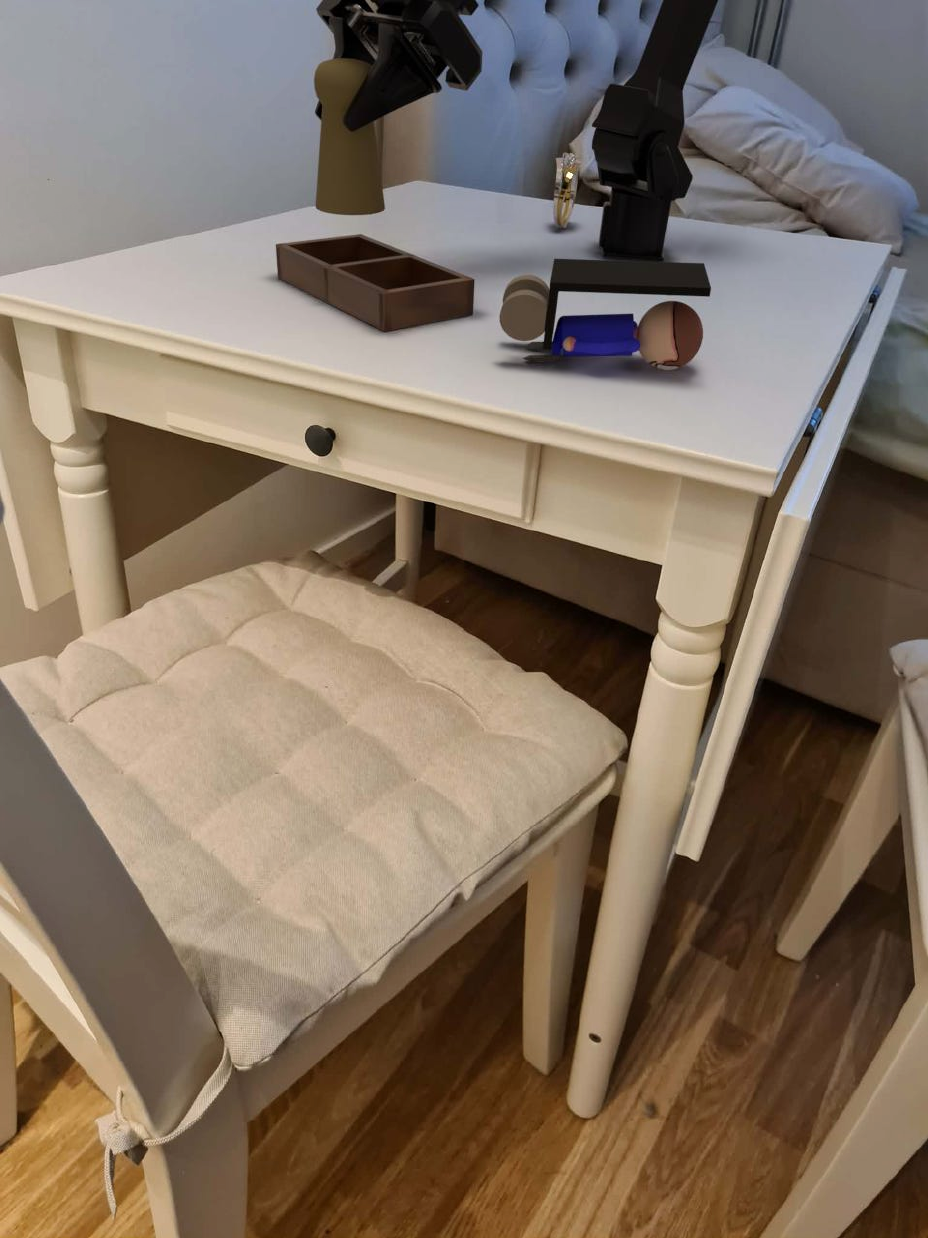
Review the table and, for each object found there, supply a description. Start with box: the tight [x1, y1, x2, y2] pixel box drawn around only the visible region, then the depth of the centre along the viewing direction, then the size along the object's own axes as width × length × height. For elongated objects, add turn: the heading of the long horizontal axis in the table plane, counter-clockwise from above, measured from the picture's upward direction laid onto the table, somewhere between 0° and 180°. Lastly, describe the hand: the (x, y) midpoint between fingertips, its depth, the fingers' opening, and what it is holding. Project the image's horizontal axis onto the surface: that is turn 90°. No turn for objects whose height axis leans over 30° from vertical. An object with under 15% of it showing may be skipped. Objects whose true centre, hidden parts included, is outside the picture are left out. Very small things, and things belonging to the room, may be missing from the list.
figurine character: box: [498, 258, 712, 371], centre depth 66 cm, size 7×8×15 cm
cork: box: [313, 58, 386, 216], centre depth 74 cm, size 6×6×11 cm
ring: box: [552, 151, 583, 229], centre depth 103 cm, size 7×3×8 cm, turn 157°
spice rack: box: [275, 233, 476, 332], centre depth 78 cm, size 9×18×3 cm, turn 38°
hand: (332, 122), depth 73 cm, fingers closed on cork, 5 cm apart
